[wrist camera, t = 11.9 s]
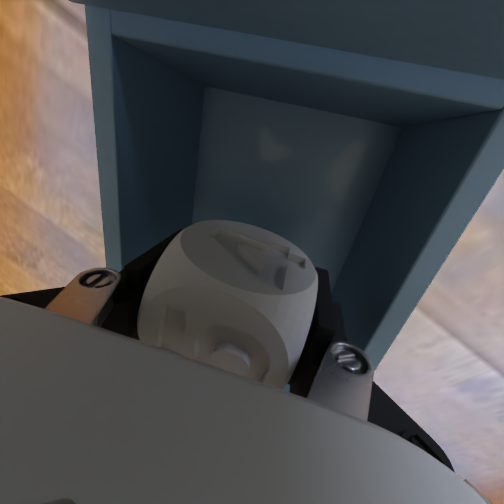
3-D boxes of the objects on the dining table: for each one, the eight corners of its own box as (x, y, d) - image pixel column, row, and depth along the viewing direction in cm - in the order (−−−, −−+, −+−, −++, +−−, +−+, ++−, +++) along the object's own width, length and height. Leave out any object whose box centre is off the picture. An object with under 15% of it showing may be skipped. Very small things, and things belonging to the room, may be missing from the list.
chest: (328, 319, 21) (340, 426, 13) (182, 274, 22) (112, 346, 15) (420, 114, 14) (564, 76, 6) (198, 70, 16) (82, -8, 8)
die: (210, 208, 11) (140, 254, 6) (317, 247, 10) (323, 324, 6) (191, 294, 13) (130, 373, 9) (279, 328, 13) (262, 429, 8)
